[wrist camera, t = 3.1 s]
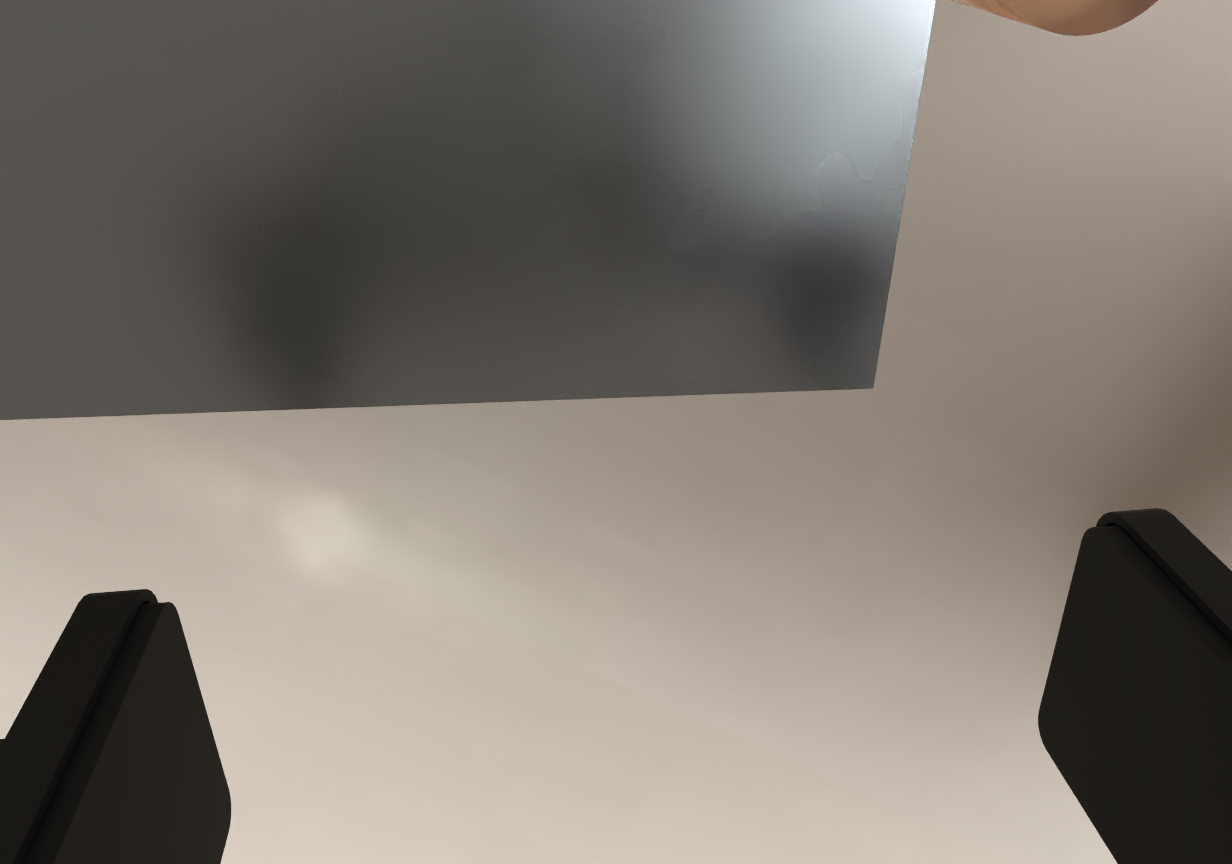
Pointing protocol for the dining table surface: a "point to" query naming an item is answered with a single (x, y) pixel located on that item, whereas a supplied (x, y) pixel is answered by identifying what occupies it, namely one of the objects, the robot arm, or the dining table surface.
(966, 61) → the dining table surface
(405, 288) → the mounted unit
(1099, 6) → the terracotta part
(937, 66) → the dining table surface
